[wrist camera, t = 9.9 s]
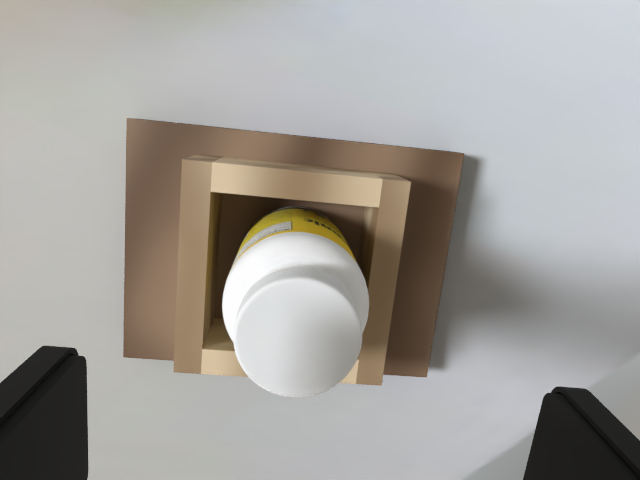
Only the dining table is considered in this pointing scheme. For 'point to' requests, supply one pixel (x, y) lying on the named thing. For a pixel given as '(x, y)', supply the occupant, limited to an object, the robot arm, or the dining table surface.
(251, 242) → the supplement bottle
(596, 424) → the robot arm
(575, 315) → the dining table surface
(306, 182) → the socket board
